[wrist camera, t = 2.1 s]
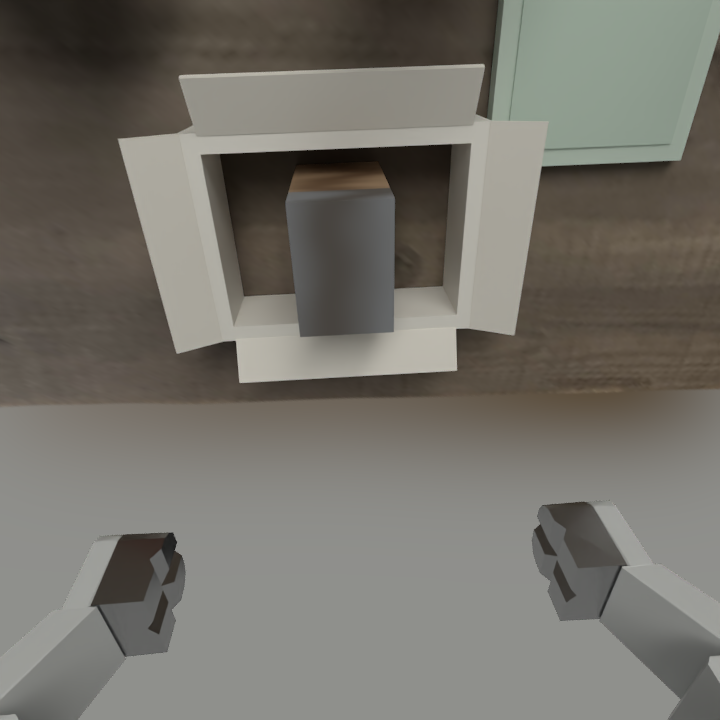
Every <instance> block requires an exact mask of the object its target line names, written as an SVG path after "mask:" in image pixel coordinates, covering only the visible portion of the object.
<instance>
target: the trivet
mask: <svg viewBox="0 0 720 720" xmlns="http://www.w3.org/2000/svg"><path fill="white" fill-rule="evenodd" d="M719 33H720V0H499V1H498V11H497V21H496V32H495V42H494V52H493V62H492V72H491V82H490V92H489V102H488V113H487V119H489V120H491V121H549V124H548V130H547V136H546V142H545V149H544V155H543V161H542V166H561V165H584V164H607V163H630V162H653V161H675V160H681V158H682V154H683V151H684V148H685V144H686V141H687V138H688V135H689V131H690V128H691V125H692V121H693V118H694V115H695V111H696V108H697V105H698V102H699V98H700V95H701V92H702V88H703V85H704V82H705V79H706V75H707V72H708V69H709V65H710V62H711V59H712V56H713V52H714V49H715V46H716V42H717V39H718V36H719Z"/></svg>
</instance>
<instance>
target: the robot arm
mask: <svg viewBox="0 0 720 720" xmlns="http://www.w3.org/2000/svg"><path fill="white" fill-rule="evenodd" d="M537 517H538V519H539V521H540V525H539V526H538V527H537V528H536V529H534V533H533V538H532V545H533V554H534V557H535V561H536V564H537V567H538V569H539V571H540V573H541V574H542V575H544V576H545V577H546V578H547V579H548V580H550V581H551V582H550V585H549V589H548V593H549V595H550V598H551V600H552V602H553V605H554V607H555V610H556V612H557V614H558V617H559V619H560V621H565V620H586V619H600V622H601V623H602V624H603V625H604V626H605V627H606V628H607V629H608V630H609V631H610V632H611V633H612V634H613V635H615V636H616V637H617V638H618V639H619V640H620V641H621V642H622V643H623V644H624V645H625V646H626V647H627V648H628V649H629V650H630V651H631V652H632V653H633V654H634V655H635V656H636V657H638V659H640V661H642V662H643V663H644V664H645V665H646V666H647V667H648V668H649V669H650V670H651V671H652V672H653V673H654V674H655V675H656V676H657V677H658V678H659V679H660V680H661V681H662V682H663V683H664V684H666V686H667V687H668V688H670V689H671V690H672V691H673V692H674V693H675V694H676V695H677V696H678V697H679V698H680V699H681V700H680V701H679V703H678V704H677V706H676V707H675V709H674V710H673V712H672V713H671V715H670V716H669V718H668V720H720V603H719V602H717V601H716V600H714V599H713V598H711V597H710V596H708V595H707V594H705V593H704V592H702V591H701V590H699V589H698V588H696V587H695V586H694V585H692V584H690V583H689V582H687V581H686V580H684V579H683V578H682V577H680V576H679V575H677V574H676V573H674V572H673V571H671V570H669V569H668V568H667V567H665V566H664V565H662V564H654V563H653V562H652V560H651V559H650V557H649V555H648V554H647V553H646V551H645V549H644V548H643V546H642V545H641V543H640V542H639V540H638V539H637V537H636V536H635V535H634V533H633V531H632V530H631V528H630V527H629V525H628V524H627V522H626V521H625V519H624V518H623V516H622V515H621V513H620V512H619V510H618V509H617V507H616V506H615V504H614V503H612V502H611V501H610V500H608V501H596V502H595V501H594V502H575V503H564V504H551V505H542V507H541V508H540V509H539V512H538V516H537ZM176 544H177V541H176V539H175V537H174V534H173V533H150V534H127V535H111V536H100V537H99V538H98V539H97V540H96V541H95V542H94V543H93V545H92V547H91V549H90V551H89V553H88V555H87V557H86V559H85V561H84V564H83V565H82V568H81V570H80V572H79V574H78V576H77V578H76V580H75V582H74V584H73V586H72V588H71V591H70V593H69V595H68V597H67V599H66V601H65V603H64V605H63V607H62V609H57V610H53V611H52V612H51V613H50V614H49V615H48V616H46V617H45V618H44V619H43V620H42V621H41V622H40V623H39V624H38V625H36V626H35V627H34V628H33V629H32V630H31V631H29V633H27V634H26V635H25V636H24V637H23V638H21V639H20V640H19V641H18V642H17V643H16V644H15V645H13V646H12V647H11V648H10V649H9V650H8V651H7V652H6V653H4V654H3V655H2V656H1V657H0V720H78V718H79V717H80V716H81V715H82V713H83V712H84V711H85V710H86V708H87V707H88V706H89V705H90V703H91V702H92V701H93V700H94V698H95V697H96V696H97V694H98V693H99V692H100V691H101V690H102V688H103V687H104V686H105V685H106V683H107V682H108V681H109V680H110V678H111V677H112V676H113V674H114V673H115V672H116V671H117V670H118V668H119V667H120V666H121V665H122V663H123V662H124V661H125V657H127V656H136V655H144V654H154V653H163V652H167V650H168V647H169V643H170V639H171V636H172V632H173V628H174V624H175V621H176V620H175V617H174V615H173V612H172V609H173V608H174V607H175V606H176V605H177V604H178V603H179V602H180V600H181V598H182V594H183V590H184V583H185V565H184V560H183V558H182V555H180V554H179V553H177V552H176V551H175V548H176Z"/></svg>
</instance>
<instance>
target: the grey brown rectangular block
mask: <svg viewBox="0 0 720 720" xmlns="http://www.w3.org/2000/svg"><path fill="white" fill-rule="evenodd" d="M285 206H286V215H287V224H288V233H289V242H290V251H291V260H292V269H293V278H294V287H295V296H296V305H297V314H298V323H299V331H300V337H313V336H332V335H350V334H369V333H388V332H394V251H395V197H394V195H393V193H392V191H391V189H390V186H389V184H388V182H387V180H386V178H385V175H384V173H383V171H382V169H381V167H380V165H379V162H378V161H374V162H351V163H328V164H305V165H296V168H295V171H294V175H293V178H292V181H291V185H290V188H289V192H288V195H287V199H286V202H285Z"/></svg>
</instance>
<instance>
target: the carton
mask: <svg viewBox="0 0 720 720" xmlns="http://www.w3.org/2000/svg"><path fill="white" fill-rule="evenodd" d="M484 70H485V66H484V64H469V65H442V66H415V67H388V68H361V69H334V70H307V71H280V72H253V73H226V74H199V75H180V76H179V81H180V84H181V88H182V91H183V94H184V97H185V101H186V104H187V107H188V110H189V113H190V117H191V120H192V123H193V126H191V127H189V128H187V129H185V130H183V131H181V132H179V133H176V134H166V135H155V136H144V137H133V138H122V139H118V142H119V146H120V149H121V153H122V156H123V160H124V164H125V167H126V171H127V175H128V178H129V182H130V186H131V189H132V193H133V197H134V200H135V204H136V208H137V211H138V215H139V219H140V222H141V226H142V229H143V233H144V237H145V240H146V244H147V248H148V251H149V255H150V259H151V262H152V266H153V270H154V273H155V277H156V281H157V284H158V288H159V291H160V295H161V299H162V302H163V306H164V310H165V313H166V317H167V321H168V324H169V328H170V332H171V335H172V339H173V343H174V346H175V350H176V353H177V354H178V353H182V352H186V351H190V350H193V349H197V348H201V347H205V346H209V345H212V344H216V343H220V342H223V341H236V347H237V359H238V371H239V383H248V382H266V381H283V380H301V379H319V378H336V377H354V376H372V375H390V374H407V373H425V372H443V371H457V350H456V329H464V328H469V329H475V330H482V331H488V332H495V333H501V334H508V335H514V334H515V329H516V323H517V317H518V310H519V304H520V298H521V292H522V286H523V279H524V273H525V267H526V261H527V254H528V248H529V242H530V236H531V230H532V223H533V217H534V211H535V205H536V198H537V192H538V186H539V180H540V174H541V167H542V161H543V155H544V149H545V142H546V136H547V130H548V124H549V121H491V120H489V119H486V118H484V117H481V116H479V115H476V109H477V104H478V99H479V94H480V89H481V84H482V79H483V75H484ZM441 144H452V150H451V165H450V181H449V196H448V211H447V226H446V242H445V257H444V272H443V286H437V287H418V288H398V289H394V332H388V333H369V334H350V335H332V336H313V337H300V331H299V323H298V314H297V305H296V296H295V294H281V295H261V296H244V292H243V286H242V281H241V275H240V269H239V263H238V257H237V252H236V246H235V240H234V234H233V229H232V223H231V217H230V211H229V205H228V200H227V194H226V188H225V182H224V177H223V171H222V165H221V159H220V154H227V153H251V152H274V151H298V150H322V149H346V148H369V147H393V146H417V145H441Z"/></svg>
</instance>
